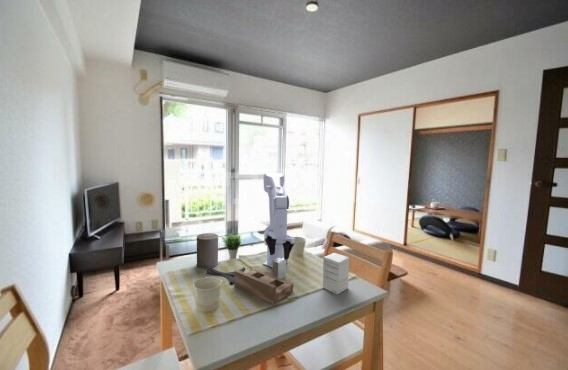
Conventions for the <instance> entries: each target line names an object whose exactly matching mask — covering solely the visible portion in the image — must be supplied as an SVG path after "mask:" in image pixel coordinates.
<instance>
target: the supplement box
mask: <svg viewBox="0 0 568 370" xmlns="http://www.w3.org/2000/svg"><path fill="white" fill-rule="evenodd" d="M322 264H323V266H322V267H323V269H322V270H323V271H322V288H323V289H325V290H327V291H330V292H331V293H333V294H336V295H340V294H341V293H342V292H344V291H346V290H347V289H349V271H350V257H348V256H346V255H342V254H339V253H337V252H332V253H331V254H328V255H326V256H323V263H322Z"/></svg>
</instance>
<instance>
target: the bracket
mask: <svg viewBox="0 0 568 370" xmlns="http://www.w3.org/2000/svg"><path fill="white" fill-rule="evenodd" d="M238 270H239V271H242V272H244V273H245V271H246V267H244V266H243V267H242V268H241V269H238ZM206 274H207V275H215V276H216V275H217V276H222V277H224V278H226V279H227V280H228V282H229V283H228V284H229V285H231V284H232V285H234V271H229V272H224V271H219V270H217V269H214V268H207V270H206Z"/></svg>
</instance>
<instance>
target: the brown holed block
mask: <svg viewBox="0 0 568 370" xmlns="http://www.w3.org/2000/svg"><path fill="white" fill-rule="evenodd" d="M239 270H240V269H236V270H234V271H233V272H234V277H233V278H234V284H233V285H234V286H235V287H236V288H238V289H241V290H242V291H245V292H247V293H248V294H252V295H253V296H255V297H257V298H259V299H261V300H264V301H266V302H268V303H270V304H272V305H273V304H275V303H277V302H279V301H281V299H284V298H285V297H286V296H288V295H289V294H291V293H294V283H293V282H289V281H286V280H284V279H279V278H277V277H274V276H272V274H268V273H266V272H263V271H262V270H259V269H257V268H255V269H253V270H250V271H248V272H245V271H244V272H242V271H239Z"/></svg>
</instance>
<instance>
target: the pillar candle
mask: <svg viewBox="0 0 568 370" xmlns="http://www.w3.org/2000/svg"><path fill="white" fill-rule="evenodd" d="M218 264H219V235H218V234H216V233H213V232H205V233H201V234H197V236H196V267H197V268H199V269H205V270H206V269H207V270H208V269H209V268H212V269H214V268H215V267H218Z"/></svg>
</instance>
